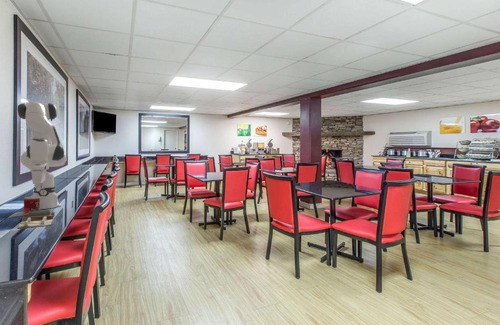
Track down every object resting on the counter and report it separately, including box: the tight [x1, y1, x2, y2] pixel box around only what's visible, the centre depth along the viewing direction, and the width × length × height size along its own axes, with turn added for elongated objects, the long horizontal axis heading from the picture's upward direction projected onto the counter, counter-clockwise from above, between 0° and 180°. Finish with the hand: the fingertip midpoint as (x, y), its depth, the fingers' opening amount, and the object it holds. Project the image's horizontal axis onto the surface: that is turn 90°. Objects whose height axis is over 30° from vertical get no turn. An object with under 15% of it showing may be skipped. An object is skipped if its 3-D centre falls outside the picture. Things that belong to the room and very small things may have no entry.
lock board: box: [17, 210, 56, 230], centre depth 156 cm, size 24×14×4 cm, turn 31°
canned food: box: [23, 195, 41, 215], centre depth 171 cm, size 8×8×11 cm
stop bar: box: [28, 208, 51, 217], centre depth 161 cm, size 10×3×4 cm, turn 121°
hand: (39, 190), depth 160 cm, fingers open, 8 cm apart
